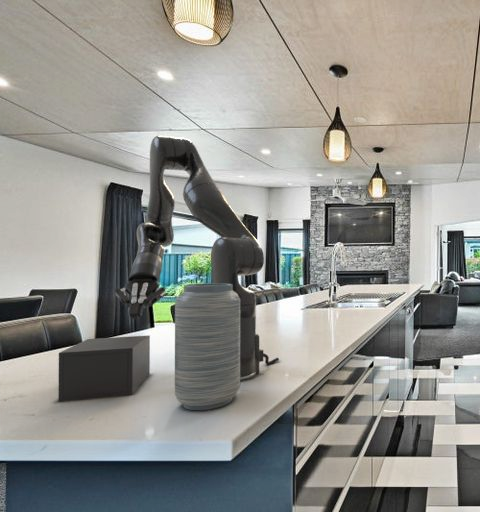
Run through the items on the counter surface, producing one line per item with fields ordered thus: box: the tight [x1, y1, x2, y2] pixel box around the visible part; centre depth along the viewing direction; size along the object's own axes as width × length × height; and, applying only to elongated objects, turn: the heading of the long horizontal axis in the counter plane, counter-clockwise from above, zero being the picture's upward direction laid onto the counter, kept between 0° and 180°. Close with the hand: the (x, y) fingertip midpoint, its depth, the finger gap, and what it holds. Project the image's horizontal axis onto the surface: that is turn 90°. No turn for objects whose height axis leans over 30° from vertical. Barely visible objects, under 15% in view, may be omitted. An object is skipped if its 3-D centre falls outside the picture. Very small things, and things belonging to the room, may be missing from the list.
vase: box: [174, 282, 241, 411], centre depth 76 cm, size 12×12×23 cm
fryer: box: [57, 334, 151, 403], centre depth 85 cm, size 15×13×10 cm
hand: (134, 316), depth 104 cm, fingers closed
